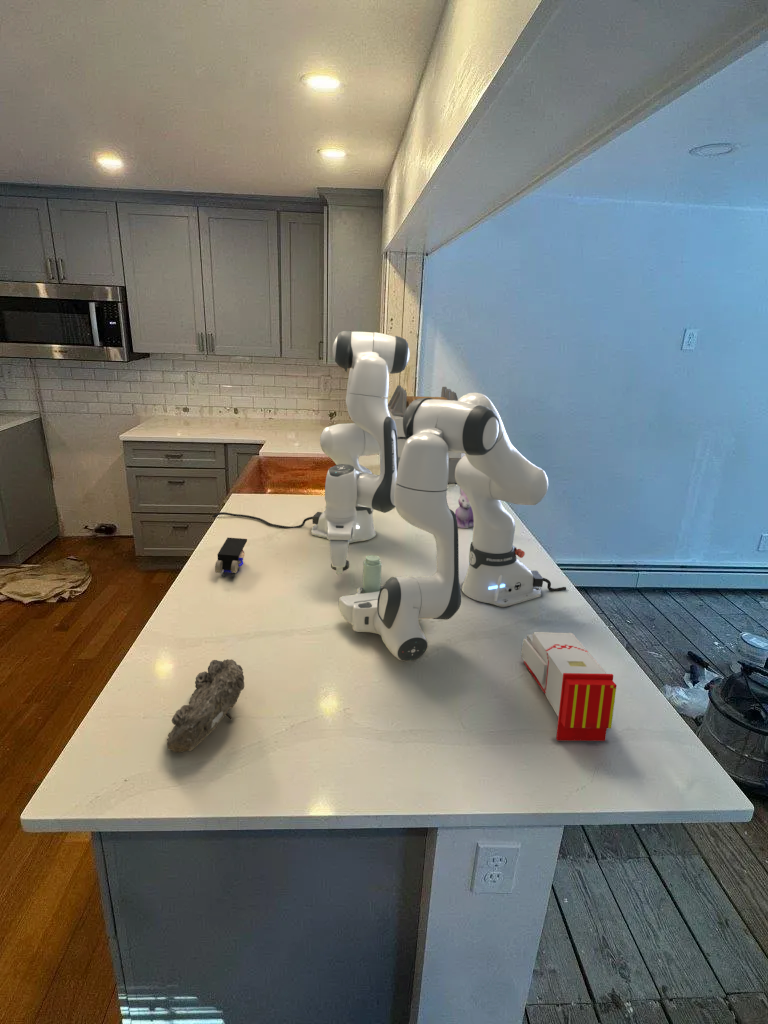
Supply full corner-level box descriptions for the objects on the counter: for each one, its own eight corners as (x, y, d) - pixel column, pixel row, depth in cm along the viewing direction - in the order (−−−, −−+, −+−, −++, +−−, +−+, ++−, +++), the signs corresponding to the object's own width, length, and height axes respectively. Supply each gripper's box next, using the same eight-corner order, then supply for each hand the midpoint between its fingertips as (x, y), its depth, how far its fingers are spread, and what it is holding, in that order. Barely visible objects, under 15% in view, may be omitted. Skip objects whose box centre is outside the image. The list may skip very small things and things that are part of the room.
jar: (369, 614, 147) (371, 563, 142) (358, 606, 150) (360, 556, 145) (382, 608, 150) (385, 558, 145) (372, 601, 153) (374, 552, 148)
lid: (349, 563, 164) (349, 558, 164) (348, 571, 160) (348, 566, 159) (331, 563, 164) (331, 558, 164) (330, 570, 160) (330, 565, 159)
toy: (568, 616, 131) (626, 681, 101) (562, 669, 133) (617, 748, 104) (515, 615, 130) (559, 680, 101) (511, 669, 133) (551, 747, 104)
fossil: (192, 660, 117) (244, 628, 112) (224, 691, 120) (276, 661, 115) (142, 746, 98) (202, 712, 93) (182, 779, 101) (242, 748, 96)
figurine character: (238, 584, 162) (249, 557, 175) (236, 562, 158) (247, 536, 172) (215, 584, 161) (227, 556, 175) (212, 561, 158) (225, 535, 171)
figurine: (462, 530, 205) (466, 491, 200) (446, 521, 213) (450, 483, 208) (483, 527, 209) (487, 488, 204) (467, 518, 218) (471, 480, 213)
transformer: (382, 463, 289) (386, 382, 275) (445, 464, 293) (451, 384, 279) (390, 482, 257) (394, 392, 243) (460, 483, 261) (468, 394, 247)
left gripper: (331, 510, 167) (331, 553, 172) (326, 536, 148) (326, 584, 152) (352, 511, 168) (352, 554, 172) (350, 536, 148) (350, 584, 153)
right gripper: (428, 597, 139) (407, 573, 151) (348, 608, 132) (333, 582, 145) (426, 620, 141) (406, 594, 154) (347, 632, 135) (332, 604, 147)
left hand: (340, 568), depth 162 cm, fingers closed on lid, 5 cm apart
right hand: (370, 589), depth 149 cm, fingers closed on jar, 4 cm apart
